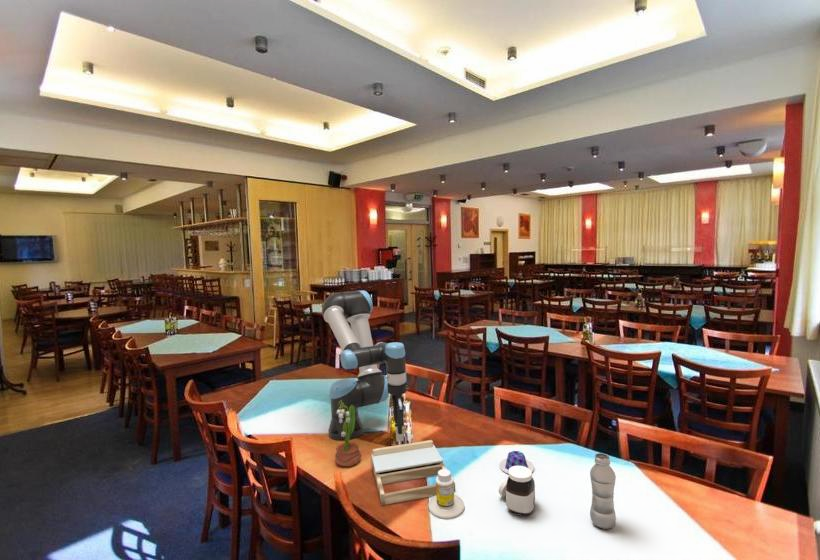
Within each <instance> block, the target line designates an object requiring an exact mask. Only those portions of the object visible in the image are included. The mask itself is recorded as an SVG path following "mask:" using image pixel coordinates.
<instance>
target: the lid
mask: <svg viewBox="0 0 820 560" xmlns="http://www.w3.org/2000/svg"><path fill="white" fill-rule="evenodd" d="M370 456H371V457H372V458H371V459H372V460H373V464H374V468H375V472H376V473H379V474H380V473H385V472H392V471H397V470H404V469H409V468H417V467H422V466H429V465H433V464H434V465H435V464H436V463H440V462H443V463H444V459H443V458H442V457H441V454H440V453H439V451H438V449H437V448H436V446H435V445H434V441H433V440H432V439H429V440H428V439H427V440H423V441H422V440H421V441H416V442H410V443H402V444H397V445H396V444H395V445H390V446H383V447H378V448H377V447H376V448H373V449H372V453H371V455H370ZM372 460H371V461H372Z"/></svg>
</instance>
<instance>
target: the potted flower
mask: <svg viewBox="0 0 820 560" xmlns="http://www.w3.org/2000/svg"><path fill="white" fill-rule="evenodd" d="M341 401H342V400H341ZM341 401H340V402H341ZM338 404H339V403H338ZM341 405H342V407H344V409H341ZM345 407H347V406H345V405H344V403H343V402H342V403H341V404H340V409H338V410H337V413H338V414H339V419H340V420H339V423H342V421H343V420H342V418H344V417H343V415H344V414H345V415H344V416H345V423H344V425H343V429H344V431H343V432H342V433H341V435H342V436H343V437H344V436H345V440H344V442H343V443H340V444H338V445H337V447H336V448H335V450H336V453H335V456H334V461H335V463H336V464H337V465H339V466H341V467H351V466H354V465H356V464H358V463H359V461H360V460H361V458H362V453H361V450H360V444H358V443H357V442H354V441H350V440H351V439H350V436H351V434H352V432H353V430H354V424H355V410H354V406H353V405H351V406H350V407H349V410H348V408H347V412H346V409H345ZM337 413H336V414H337ZM343 413H344V414H343Z"/></svg>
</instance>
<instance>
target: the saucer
mask: <svg viewBox="0 0 820 560" xmlns="http://www.w3.org/2000/svg"><path fill="white" fill-rule="evenodd" d="M464 510H465V503H464V500H463V499H462V498H461V497H460V496H458V495H457V494H454V505H453V506H452V507H451V508H448V509H443V508H440V507H439V506H438V505H437V498H436V495H435V496H431V498H429V501H428V511H429V512H430V514H431V515H432V516H434V517H435V518H438V519H442V520H449V519H455V518H458V517H460V516H461V515H462V514H463V512H464Z"/></svg>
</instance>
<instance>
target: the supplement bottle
mask: <svg viewBox="0 0 820 560" xmlns="http://www.w3.org/2000/svg"><path fill="white" fill-rule="evenodd" d="M454 482H455V481H454V477H453V476H452V473H451V471H450V470H449V469H447V468H446V469H442V470H439V471H438V475H437V476H436V478H435V484H436V498H437V505H438V506H439V507H440V508H443V509H448V508H451V507H452V506H453V505H454V495H455V492H454Z"/></svg>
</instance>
